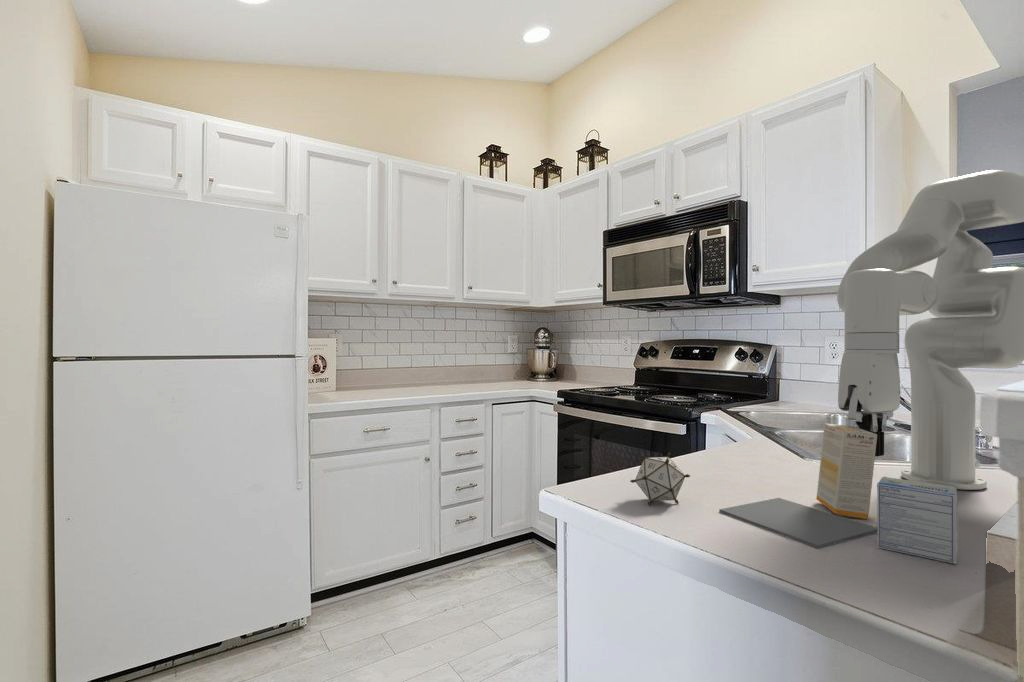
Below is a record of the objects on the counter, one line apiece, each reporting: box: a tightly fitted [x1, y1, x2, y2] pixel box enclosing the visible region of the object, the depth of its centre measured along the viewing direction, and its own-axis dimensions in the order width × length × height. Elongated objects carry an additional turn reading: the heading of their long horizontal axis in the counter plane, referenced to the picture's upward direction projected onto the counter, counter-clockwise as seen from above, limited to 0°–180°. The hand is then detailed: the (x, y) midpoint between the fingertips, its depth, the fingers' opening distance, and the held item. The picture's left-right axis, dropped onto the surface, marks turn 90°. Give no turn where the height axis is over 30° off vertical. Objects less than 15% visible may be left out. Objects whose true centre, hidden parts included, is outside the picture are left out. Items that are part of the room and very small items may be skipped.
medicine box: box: [876, 476, 958, 565], centre depth 66 cm, size 8×4×9 cm, turn 48°
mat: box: [718, 497, 878, 549], centre depth 77 cm, size 14×16×1 cm
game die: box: [629, 452, 691, 506], centre depth 86 cm, size 9×8×10 cm
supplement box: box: [815, 423, 877, 520], centre depth 82 cm, size 8×5×13 cm, turn 168°
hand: (870, 454), depth 86 cm, fingers closed
